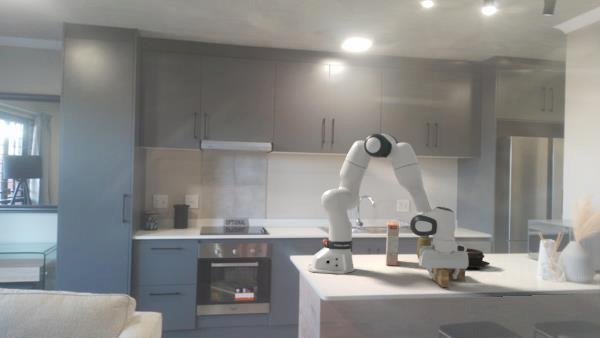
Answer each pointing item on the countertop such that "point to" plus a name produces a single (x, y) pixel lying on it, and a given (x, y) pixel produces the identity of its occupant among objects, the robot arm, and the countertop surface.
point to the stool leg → (441, 276)
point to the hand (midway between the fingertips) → (443, 278)
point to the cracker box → (392, 243)
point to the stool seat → (459, 276)
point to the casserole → (475, 259)
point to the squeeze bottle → (423, 243)
